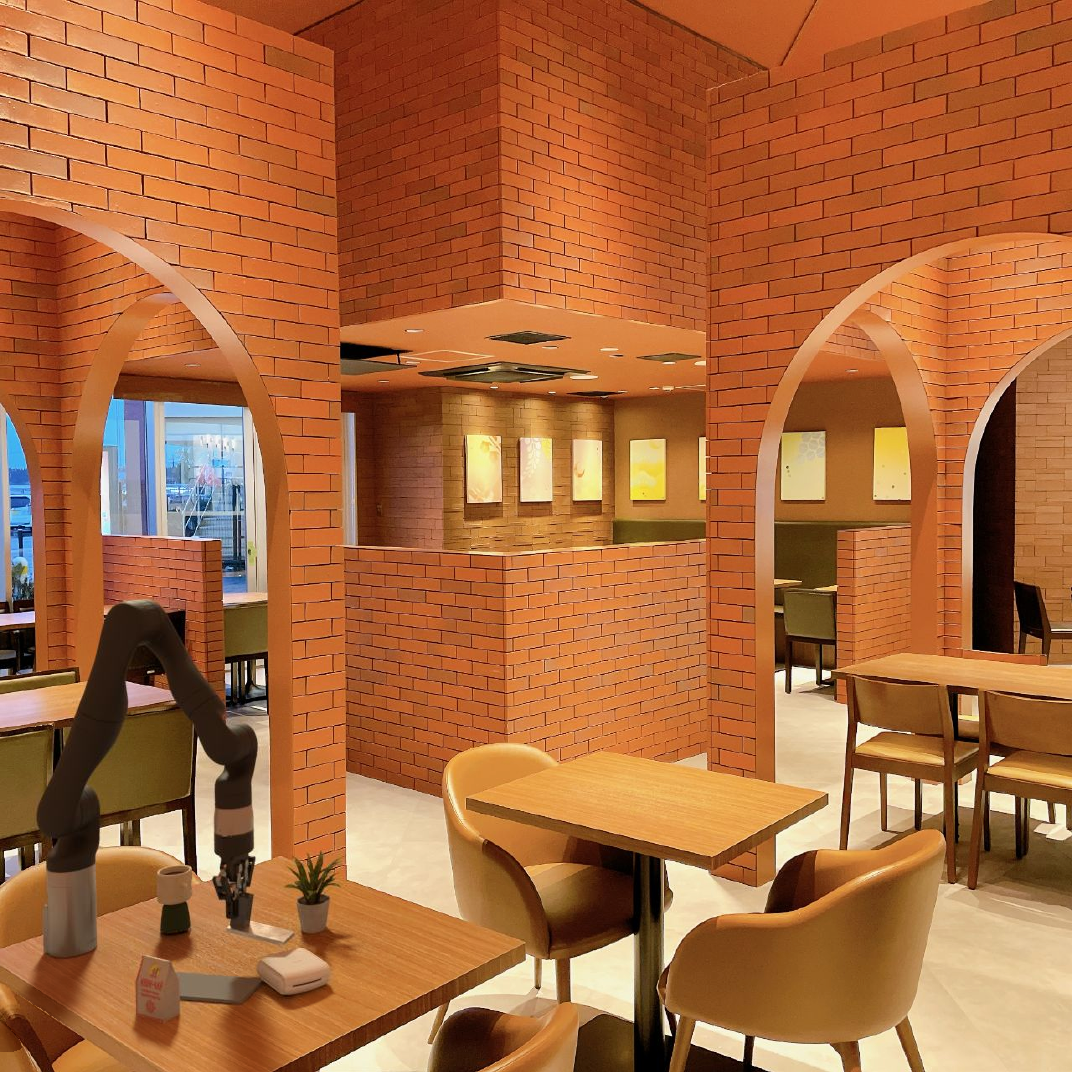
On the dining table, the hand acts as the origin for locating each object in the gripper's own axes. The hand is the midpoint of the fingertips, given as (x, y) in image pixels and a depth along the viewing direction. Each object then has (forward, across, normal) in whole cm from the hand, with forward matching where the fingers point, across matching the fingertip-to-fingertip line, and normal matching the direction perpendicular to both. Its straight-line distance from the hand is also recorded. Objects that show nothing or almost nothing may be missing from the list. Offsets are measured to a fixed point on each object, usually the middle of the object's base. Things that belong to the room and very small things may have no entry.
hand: (235, 915), depth 198 cm
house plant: (+10, -19, +9) cm, 23 cm away
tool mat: (+10, +10, 0) cm, 14 cm away
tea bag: (+10, +20, -4) cm, 23 cm away
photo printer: (+8, +1, +10) cm, 13 cm away
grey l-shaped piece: (+3, 0, +5) cm, 6 cm away
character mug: (+10, -14, -21) cm, 28 cm away
